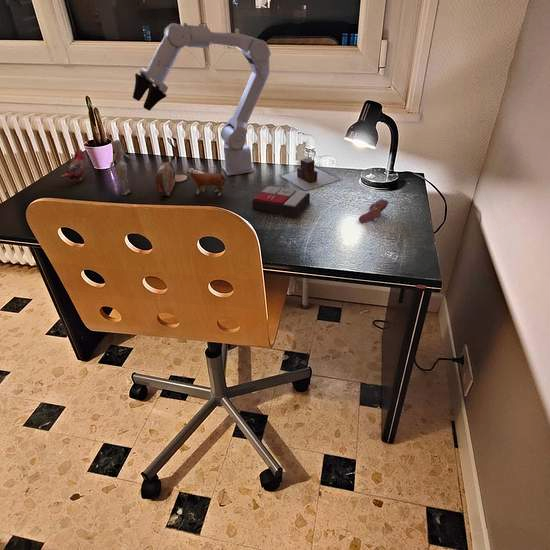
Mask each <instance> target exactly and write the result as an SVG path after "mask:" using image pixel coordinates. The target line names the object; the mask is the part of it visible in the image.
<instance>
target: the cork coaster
mask: <svg viewBox="0 0 550 550" xmlns="http://www.w3.org/2000/svg"><path fill="white" fill-rule="evenodd" d="M187 180H188V175H185V174H175V183H183V182H185V181H187Z"/></svg>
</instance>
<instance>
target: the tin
mask: <svg viewBox="0 0 550 550" xmlns="http://www.w3.org/2000/svg"><path fill="white" fill-rule="evenodd" d="M175 175H176V172H175V168H174V165H173V163H172V162H171V161H165V162H162V163H161V164H160V166H159V167H158V169H157V171H156V172H155V176H154V177H155V185H156V188H157V191H158V195H159V196H161V197H166V196H168V197H169V196H170V195H171V193H172V191H173V189H174V187H175V184H176V182H175Z"/></svg>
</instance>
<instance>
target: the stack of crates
mask: <svg viewBox="0 0 550 550" xmlns="http://www.w3.org/2000/svg"><path fill="white" fill-rule="evenodd" d="M315 164H316V161H315V160H314V159H312V158H310V157H306V158H301V159H300V166H298V167H297V168H296V170H295V171H292V172H288V173H285V174H282V175H280V177H282V178H283V179H285V180H287V181H288V182H290V183H292V184H294V185H295V186H297V187H299V188H301V189H302V190H304V191H309V190H312V189H315V188H318V187H321V186H325V185H328V184H330V183H333V182H337V181H340V179H339V178H338V177H335V176H333V175H332V174H330V173H327V172H325V171H323V170H321V169H319V168H317V167H315Z"/></svg>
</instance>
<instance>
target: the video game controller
mask: <svg viewBox="0 0 550 550" xmlns="http://www.w3.org/2000/svg"><path fill="white" fill-rule="evenodd" d="M388 205H389V201H388V200H386V199H384V198H381V199H379V200H377V201H376V202H374V203H372V204H371V205H370V206H369V211H368V212H366V213H363V214H362V215H360V216H359V218H358V222H359V223H361V224H367V223H370V222H374V221H375V220H376V219H380V218H381V215H382V212H383V211H384V210H385V209H386V208H387V207H388Z"/></svg>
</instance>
